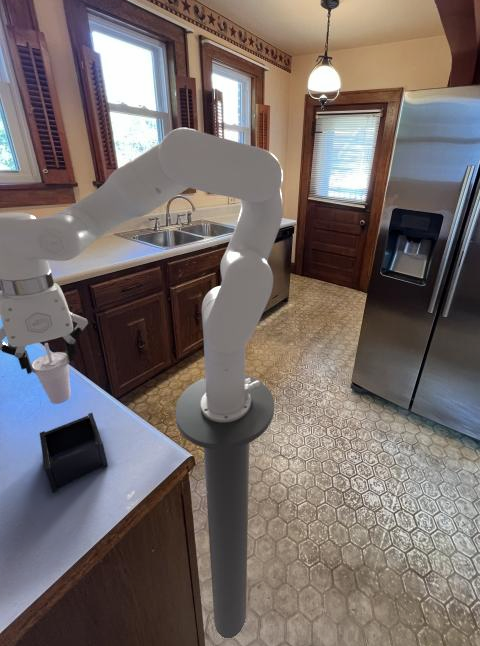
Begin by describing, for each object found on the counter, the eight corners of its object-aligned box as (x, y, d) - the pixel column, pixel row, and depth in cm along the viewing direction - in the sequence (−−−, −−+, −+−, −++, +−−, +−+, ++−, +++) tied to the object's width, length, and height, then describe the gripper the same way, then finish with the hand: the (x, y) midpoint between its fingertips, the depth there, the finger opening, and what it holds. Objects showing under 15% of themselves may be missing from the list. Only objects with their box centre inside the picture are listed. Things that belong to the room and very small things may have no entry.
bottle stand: (97, 433, 68) (92, 412, 65) (108, 465, 61) (102, 443, 59) (46, 454, 62) (39, 432, 60) (52, 493, 56) (44, 470, 53)
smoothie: (49, 413, 63) (31, 356, 58) (37, 398, 67) (19, 343, 61) (83, 396, 68) (69, 342, 62) (70, 383, 71) (56, 331, 66)
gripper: (-40, 301, 49) (-5, 391, 56) (86, 280, 59) (102, 358, 66) (-36, 285, 54) (-5, 369, 61) (79, 269, 65) (94, 342, 72)
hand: (50, 363), depth 64 cm, fingers closed on smoothie, 6 cm apart
